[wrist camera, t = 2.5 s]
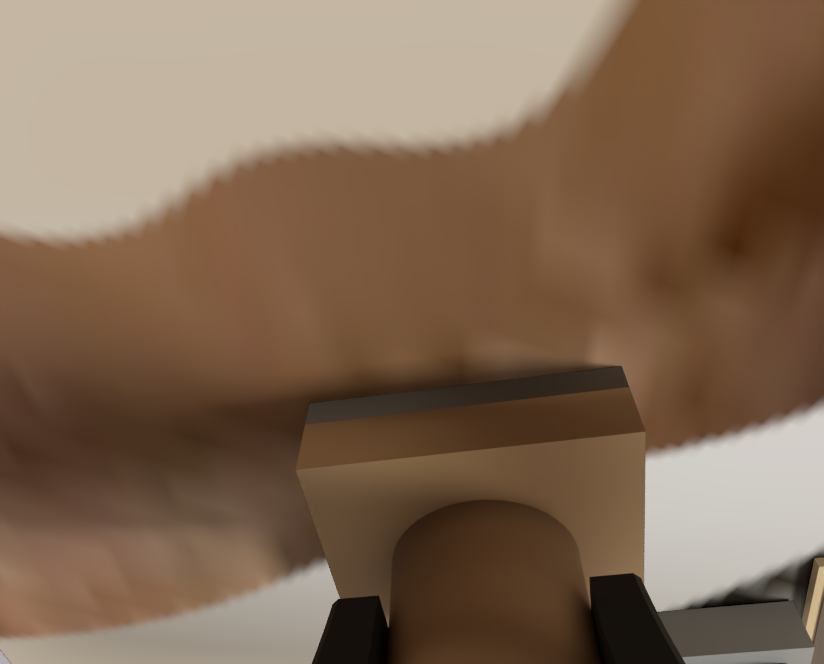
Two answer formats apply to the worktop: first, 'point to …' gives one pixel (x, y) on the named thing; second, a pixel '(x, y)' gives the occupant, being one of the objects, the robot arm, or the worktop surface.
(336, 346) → the worktop surface
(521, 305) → the worktop surface
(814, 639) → the card sheet
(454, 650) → the stamp
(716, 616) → the ink pad
